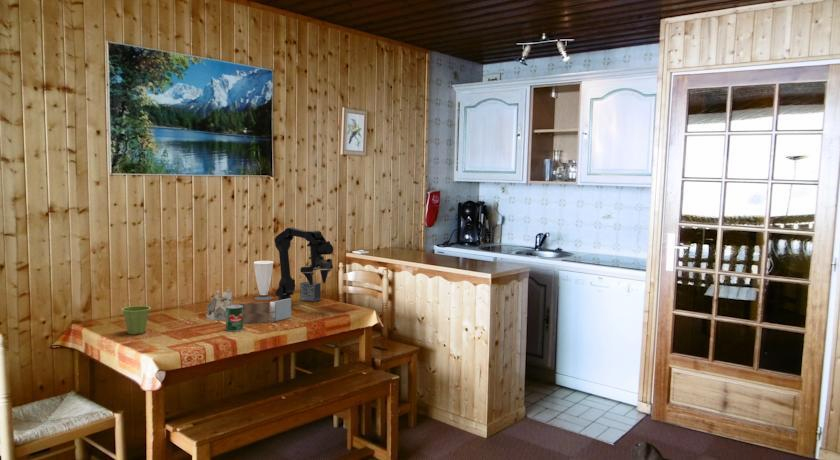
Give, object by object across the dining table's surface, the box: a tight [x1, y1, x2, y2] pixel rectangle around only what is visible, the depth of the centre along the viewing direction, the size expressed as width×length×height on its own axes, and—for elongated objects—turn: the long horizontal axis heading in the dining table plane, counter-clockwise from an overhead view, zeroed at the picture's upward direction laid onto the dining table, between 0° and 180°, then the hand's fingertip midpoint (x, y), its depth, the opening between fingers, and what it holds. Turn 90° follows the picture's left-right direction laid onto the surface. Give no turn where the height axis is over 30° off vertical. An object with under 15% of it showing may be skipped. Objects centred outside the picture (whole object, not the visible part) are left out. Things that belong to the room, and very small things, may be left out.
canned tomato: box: [225, 304, 244, 332], centre depth 280 cm, size 8×8×11 cm
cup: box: [253, 260, 275, 301], centre depth 352 cm, size 12×12×22 cm
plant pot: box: [121, 305, 151, 335], centre depth 271 cm, size 12×12×11 cm
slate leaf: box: [269, 298, 292, 322], centre depth 299 cm, size 13×2×10 cm, turn 146°
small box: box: [299, 281, 322, 303], centre depth 348 cm, size 11×6×10 cm, turn 65°
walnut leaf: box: [238, 301, 276, 325], centre depth 293 cm, size 17×2×10 cm, turn 106°
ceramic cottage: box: [205, 286, 234, 322], centre depth 303 cm, size 16×16×15 cm
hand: (318, 284), depth 316 cm, fingers open, 9 cm apart
